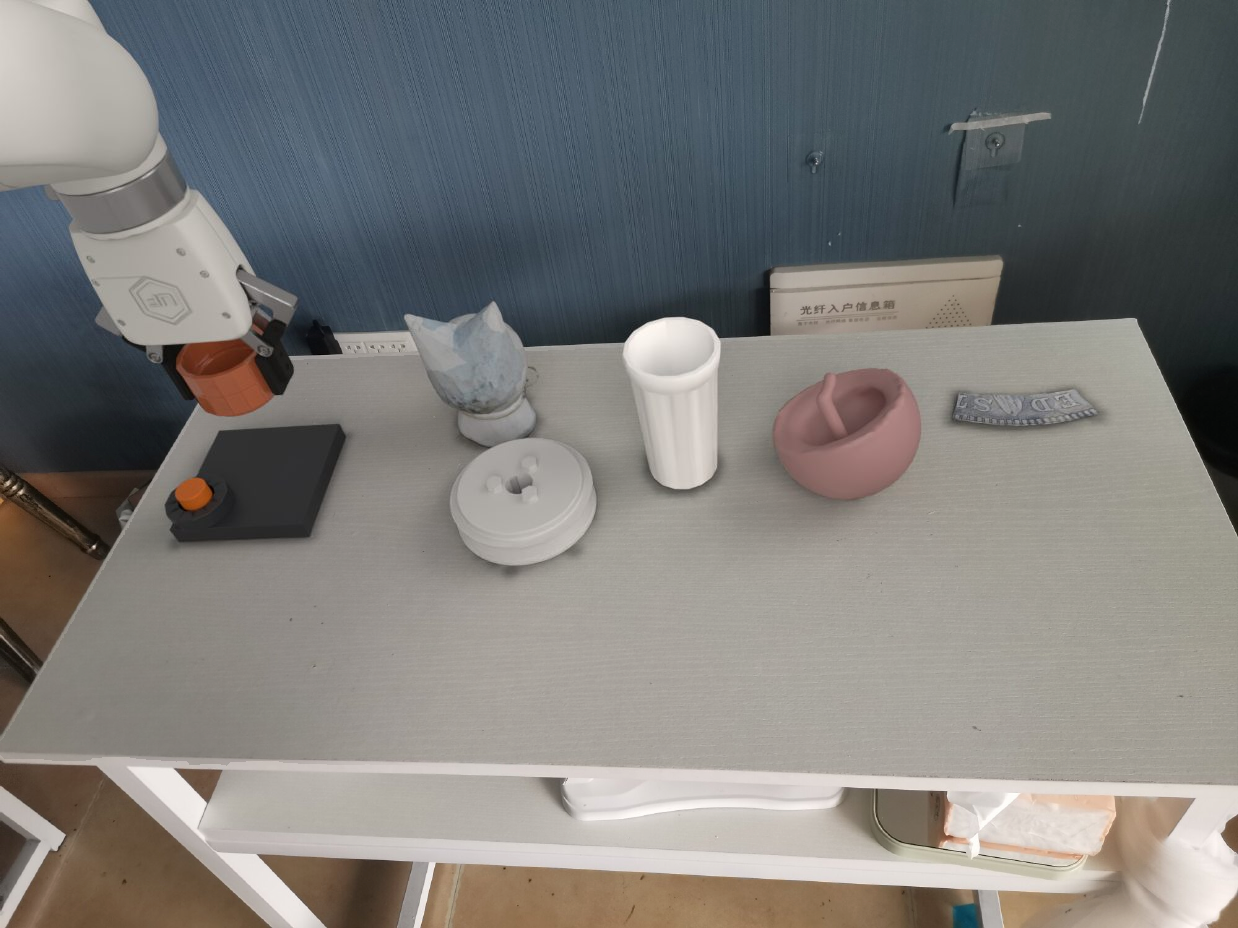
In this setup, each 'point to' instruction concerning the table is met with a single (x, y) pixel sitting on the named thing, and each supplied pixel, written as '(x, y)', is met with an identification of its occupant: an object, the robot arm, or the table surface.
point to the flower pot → (224, 376)
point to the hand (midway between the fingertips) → (240, 385)
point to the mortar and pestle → (849, 433)
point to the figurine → (478, 373)
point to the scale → (261, 484)
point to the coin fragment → (1022, 408)
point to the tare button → (193, 494)
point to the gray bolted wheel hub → (523, 501)
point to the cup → (676, 397)
